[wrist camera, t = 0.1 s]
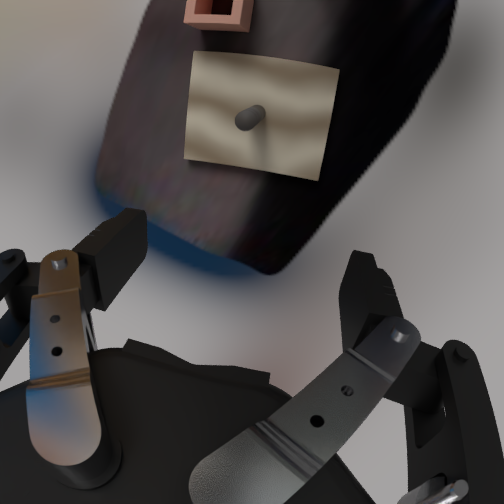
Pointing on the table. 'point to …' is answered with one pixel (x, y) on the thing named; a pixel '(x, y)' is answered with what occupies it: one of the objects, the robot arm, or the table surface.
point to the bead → (219, 16)
